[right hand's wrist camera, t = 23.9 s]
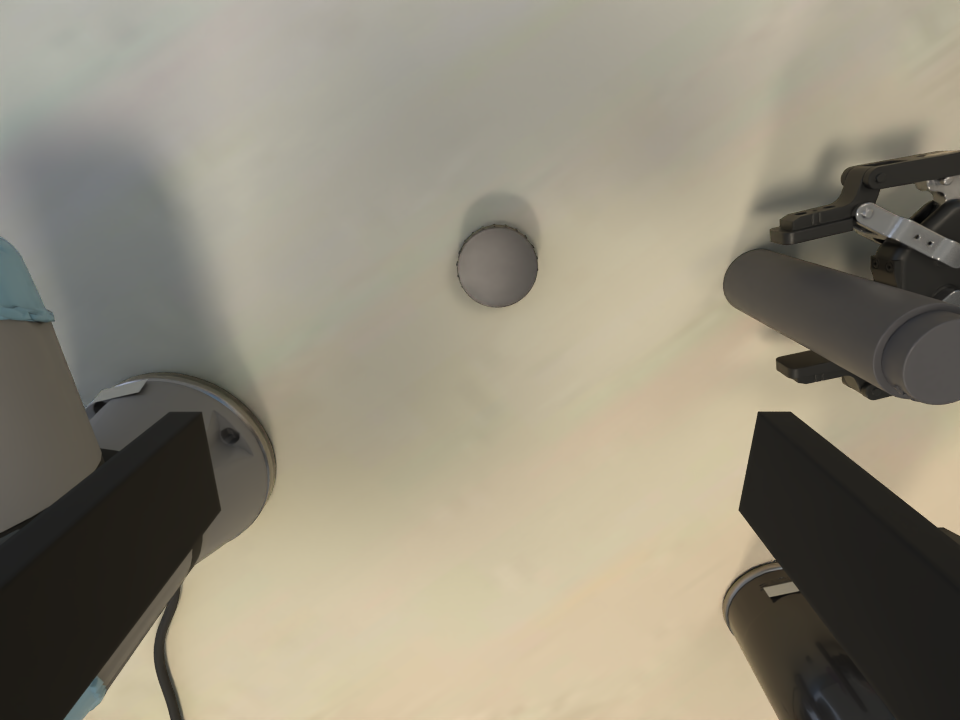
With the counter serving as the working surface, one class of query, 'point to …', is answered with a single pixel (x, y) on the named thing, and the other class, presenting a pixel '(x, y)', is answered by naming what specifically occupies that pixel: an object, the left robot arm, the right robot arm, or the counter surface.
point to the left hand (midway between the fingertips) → (779, 306)
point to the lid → (497, 266)
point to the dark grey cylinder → (854, 323)
